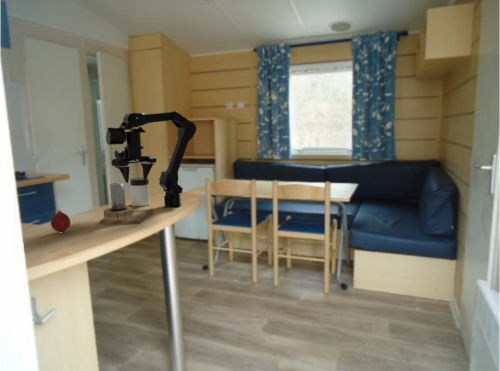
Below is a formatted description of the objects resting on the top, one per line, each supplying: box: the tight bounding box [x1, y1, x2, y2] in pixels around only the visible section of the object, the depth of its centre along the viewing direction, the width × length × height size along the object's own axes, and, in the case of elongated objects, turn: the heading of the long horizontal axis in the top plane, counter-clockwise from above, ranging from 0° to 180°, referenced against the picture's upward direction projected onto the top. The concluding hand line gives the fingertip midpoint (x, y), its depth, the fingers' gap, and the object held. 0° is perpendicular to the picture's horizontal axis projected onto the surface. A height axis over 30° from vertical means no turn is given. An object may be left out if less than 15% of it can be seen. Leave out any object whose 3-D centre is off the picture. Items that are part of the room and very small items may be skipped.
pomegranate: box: [50, 209, 71, 233], centre depth 121 cm, size 6×6×8 cm
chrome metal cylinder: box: [109, 182, 127, 212], centre depth 136 cm, size 5×5×13 cm
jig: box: [99, 206, 153, 225], centre depth 140 cm, size 15×18×4 cm
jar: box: [129, 177, 151, 207], centre depth 164 cm, size 9×8×12 cm
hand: (136, 181), depth 149 cm, fingers open, 9 cm apart
